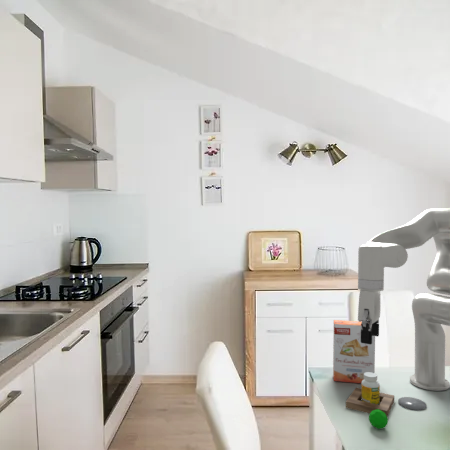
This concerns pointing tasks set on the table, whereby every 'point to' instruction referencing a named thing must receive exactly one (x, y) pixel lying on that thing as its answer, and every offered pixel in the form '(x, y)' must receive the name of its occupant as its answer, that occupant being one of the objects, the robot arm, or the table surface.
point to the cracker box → (351, 353)
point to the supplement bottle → (370, 388)
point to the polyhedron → (378, 419)
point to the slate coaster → (412, 403)
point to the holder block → (357, 404)
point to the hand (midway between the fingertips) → (370, 339)
